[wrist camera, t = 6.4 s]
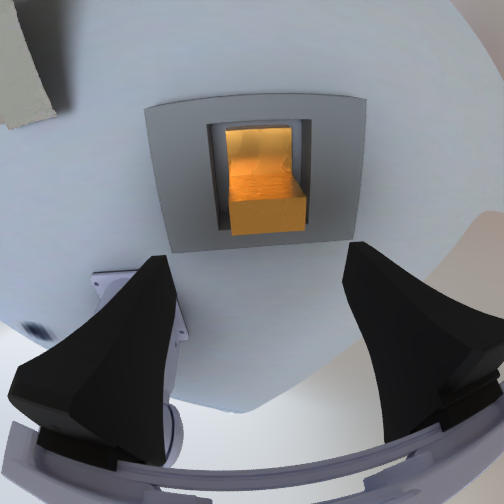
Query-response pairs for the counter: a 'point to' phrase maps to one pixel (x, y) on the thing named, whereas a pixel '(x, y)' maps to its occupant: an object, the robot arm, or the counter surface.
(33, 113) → the beige footed plank
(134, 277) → the robot arm
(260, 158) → the wooden step block
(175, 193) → the well block
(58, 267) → the counter surface
